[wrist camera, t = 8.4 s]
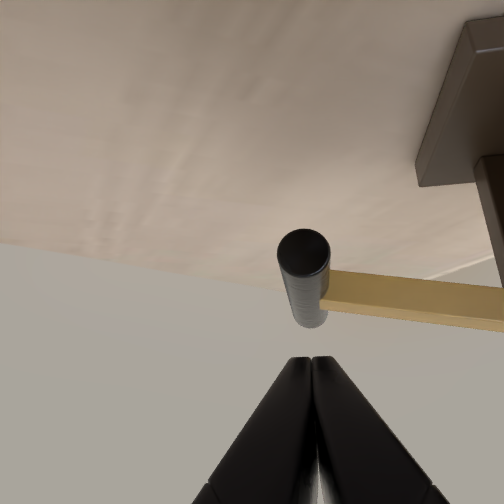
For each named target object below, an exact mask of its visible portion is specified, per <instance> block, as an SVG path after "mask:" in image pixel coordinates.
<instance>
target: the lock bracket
mask: <svg viewBox="0 0 504 504" xmlns="http://www.w3.org/2000/svg"><path fill="white" fill-rule="evenodd" d="M415 169H416V174H417V179H418V185H419V187H429V186H440V185H452V184H463V183H474V182H476V185H477V189H478V193H479V197H480V201H481V205H482V209H483V212H484V216H485V220H486V224H487V228H488V232H489V236H490V240H491V244H492V248H493V252H494V256H495V259H496V264H497V267H498V271H499V275H500V279H501V283H502V287H503V288H504V16H502V17H495V18H488V19H481V20H474V21H468V22H466V23H465V25H464V28H463V31H462V34H461V37H460V39H459V42H458V45H457V48H456V51H455V53H454V56H453V59H452V62H451V65H450V67H449V70H448V73H447V76H446V78H445V81H444V84H443V87H442V90H441V92H440V95H439V98H438V101H437V104H436V106H435V109H434V112H433V115H432V118H431V120H430V123H429V126H428V129H427V132H426V134H425V137H424V140H423V143H422V146H421V148H420V151H419V154H418V157H417V160H416V162H415Z"/></svg>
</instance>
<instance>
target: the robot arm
mask: <svg viewBox="0 0 504 504" xmlns="http://www.w3.org/2000/svg"><path fill="white" fill-rule="evenodd" d="M317 451H318V452H317ZM318 463H319V474H320V481H321V488H322V494H323V499H324V504H450V503H449V502H448V501H447V499H446V498H445V497H444V495H443V494H442V493H441V492H440V490H439V489H438V488H437V487H436V486H435V485H432V481H431V479H430V478H429V477H428V476H427V474H426V473H425V472H424V471H423V469H422V468H421V467H420V466H419V464H418V463H417V462H416V461H415V459H414V458H413V457H412V456H411V454H410V453H409V452H408V451H407V449H406V448H405V447H404V446H403V445H402V443H401V442H400V441H399V439H398V438H397V437H396V435H395V434H394V433H393V432H392V430H391V429H390V428H389V427H388V425H387V424H386V423H385V422H384V420H383V419H382V418H381V417H380V415H379V414H378V413H377V412H376V410H375V409H374V408H373V407H372V405H371V404H370V403H369V402H368V400H367V399H366V398H365V397H364V395H363V394H362V393H361V392H360V391H359V389H358V388H357V387H356V385H355V384H354V383H353V381H352V380H351V379H350V378H349V377H348V375H347V374H346V373H345V371H344V370H343V369H342V368H341V367H340V365H339V364H338V363H337V361H336V360H335V359H334V358H333V357H331V356H317V357H313V358H312V362H311V359H310V358H309V357H292V358H290V359H289V360H288V362H287V363H286V365H285V366H284V368H283V370H282V371H281V372H280V374H279V375H278V377H277V378H276V380H275V381H274V383H273V384H272V386H271V387H270V389H269V390H268V392H267V393H266V395H265V396H264V398H263V399H262V401H261V402H260V404H259V405H258V406H257V408H256V409H255V411H254V413H253V414H252V415H251V417H250V418H249V420H248V421H247V423H246V424H245V426H244V428H243V429H242V430H241V432H240V433H239V435H238V436H237V438H236V439H235V441H234V442H233V444H232V445H231V447H230V448H229V450H228V451H227V453H226V454H225V455H224V457H223V458H222V460H221V461H220V463H219V464H218V466H217V467H216V469H215V470H214V472H213V473H212V475H211V476H210V478H209V479H208V483H206V484H205V485H204V486H203V488H202V489H201V491H200V492H199V494H198V495H197V497H196V498H195V500H194V501H193V503H192V504H317V497H318Z"/></svg>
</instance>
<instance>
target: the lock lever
mask: <svg viewBox="0 0 504 504" xmlns="http://www.w3.org/2000/svg"><path fill="white" fill-rule="evenodd" d="M330 256H331V251H330V246H329V243H328V242H327V240H326V239H325V237H324V236H323V235H321V234H320V233H318V232H317V231H314V230H311V229H297V230H294V231H292V232H290V233H288V234H287V235H286V236H285V237H284V238H283V239H282V240H281V241H280V243H279V246H278V249H277V259H278V263H279V266H280V270H281V274H282V277H283V281H284V284H285V288H286V291H287V295H288V298H289V302H290V305H291V309H292V312H293V316H294V319H295V320H296V322H297V323H298V324H300V325H301V326H303V327H306V328H316V327H318V326H320V325H322V324H323V323H324V322H325V320H326V318H327V315H328V310H330V311H338V312H346V313H354V314H362V315H370V316H377V317H385V318H393V319H402V320H410V321H417V322H426V323H433V324H441V325H449V326H458V327H465V328H473V329H481V330H488V331H496V332H504V288H497V287H488V286H479V285H469V284H459V283H450V282H441V281H431V280H422V279H412V278H403V277H394V276H384V275H375V274H365V273H356V272H346V271H337V270H330Z"/></svg>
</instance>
